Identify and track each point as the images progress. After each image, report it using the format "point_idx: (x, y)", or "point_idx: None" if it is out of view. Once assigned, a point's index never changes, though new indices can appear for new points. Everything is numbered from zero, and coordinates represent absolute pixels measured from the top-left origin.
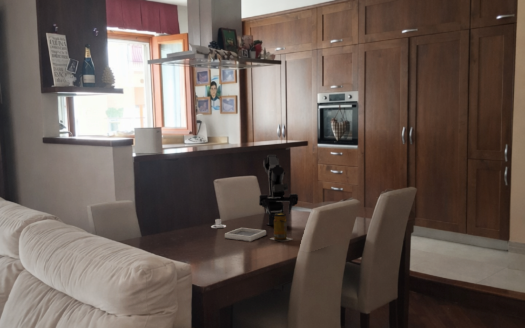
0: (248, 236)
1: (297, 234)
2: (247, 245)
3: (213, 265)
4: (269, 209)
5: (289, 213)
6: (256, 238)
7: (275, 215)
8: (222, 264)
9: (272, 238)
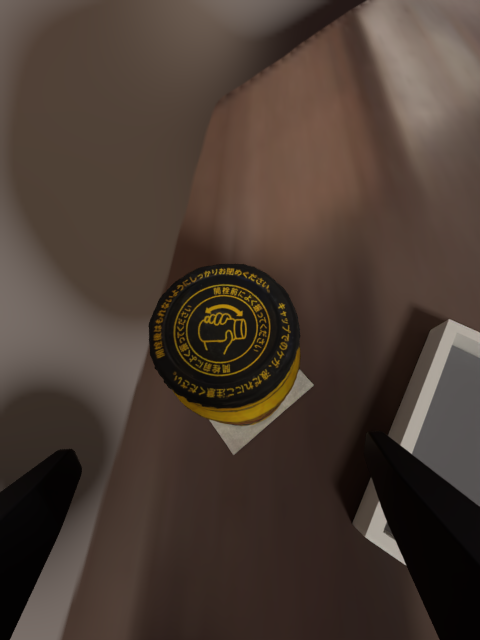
0: (463, 325)
1: (107, 514)
2: (422, 248)
3: (469, 42)
4: (431, 486)
5: (72, 453)
6: (405, 393)
7: (285, 292)
8: (443, 49)
9: (294, 388)
